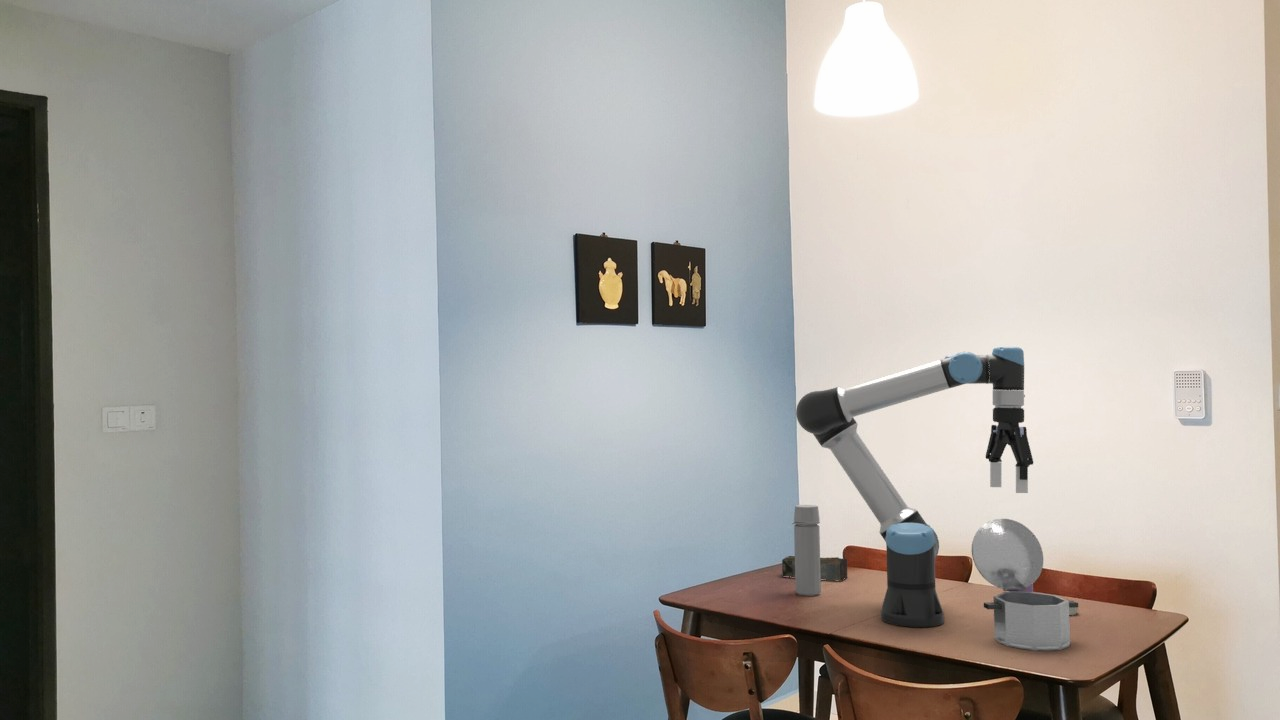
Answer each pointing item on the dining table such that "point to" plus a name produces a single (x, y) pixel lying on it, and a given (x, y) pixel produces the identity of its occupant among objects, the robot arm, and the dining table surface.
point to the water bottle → (807, 550)
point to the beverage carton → (828, 568)
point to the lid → (1007, 554)
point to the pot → (1031, 620)
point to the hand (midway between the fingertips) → (1008, 490)
